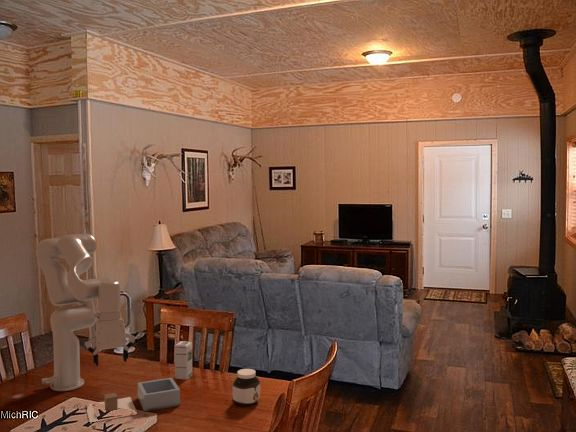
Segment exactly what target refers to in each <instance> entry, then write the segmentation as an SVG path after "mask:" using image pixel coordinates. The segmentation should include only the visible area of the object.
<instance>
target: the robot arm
mask: <svg viewBox="0 0 576 432" xmlns="http://www.w3.org/2000/svg"><path fill="white" fill-rule="evenodd" d="M97 248H98V245H97V241H96V238H95V237H94V236H93V235H92V234H90V233H77V234H76V233H75V234H74V233H73V234H66V235H64V236H62V237H53V238H46V239H43V240H40V242H38V243H37V245H36V248H35V255H36V256H35V257H36V259H37V260H36V261H37V263H38V265H39V267H40V269H41V271H42V273H43V274H44V280H45V285H46V288H47V293H48V298H49V301H50V304H52V305H53V306H59V307H60V306H66V305H72V304H77V305H75V306H74V305H73V306H68V307H67V306H66V307H61V308H59V309H56V310H53V312H52V313H51V315H50V318H49V321H50V326H51V333H52V341H53V374H52V375H53V376H50V377H45V378H44V377H43V378H41V384H45V385H49V387H50V390H52V391H55V392H68V391H74V390H76V389H79V388H82V386H84V384H85V379H83V378H81V363H80V361H81V360H80V356H81V355H80V340H79V338H78V337H77V335H75V333H74V331H77V330H78V331H79V330H82V329H86V328H87V329H88V328H91V327H93V326H94V325H95V333H94V336H93V337H92V338H89V339H88V340H86V341H85V342H84V346H85V348H86V349H87V351H88V352H90V353H91V354H92V355H93V356H92V357H93V358H92V360H93V364H95V366H96V367H98V366H99V351H100V350H110V349H118V348H122V359H123V362H124V363H126V362H127V359H129V350H130V348H132V346H133V345H134V343H135V340H136V339H137V338H136V336H135V335H132V334H129V333H126V327H125V326H126V325H125V320H124V318H123V317H122V312H121V311H122V310H121V308H122V307H121V304H122V302H121V301H122V300H121V283H120V282H119V281H117V280H113V279H112V278H110V277H97V278H89V279H81V278H80V276H81V275H83V274H84V273H85V272H87V271H88V270H89V269H90V268H91V267H92V266H93V264H94V263H93V262H94V261H93V260H94V259H93V257H92V254H94V253H96V250H97ZM59 259H64V261H65V262H66V264H67V265H68V267H69V268H68V270H67V268H66V267H65V266H64V264H62V263H61V262H59V261H58V260H59ZM95 300H98V301H97V304H98V307H97V308H98V311H97V312H96V305H95ZM127 339H129V342H128V343H127ZM94 342H95V343H94ZM93 343H94V344H95V346H94V348H93V347H92V346H91V344H93Z"/></svg>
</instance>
